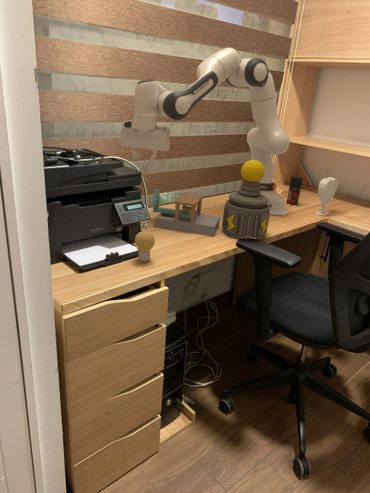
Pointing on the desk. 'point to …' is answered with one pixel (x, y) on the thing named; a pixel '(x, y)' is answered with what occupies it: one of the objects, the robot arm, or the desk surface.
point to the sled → (167, 210)
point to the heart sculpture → (326, 192)
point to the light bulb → (144, 244)
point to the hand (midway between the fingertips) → (143, 160)
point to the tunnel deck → (193, 225)
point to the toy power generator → (247, 205)
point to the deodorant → (294, 190)
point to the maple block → (187, 210)
